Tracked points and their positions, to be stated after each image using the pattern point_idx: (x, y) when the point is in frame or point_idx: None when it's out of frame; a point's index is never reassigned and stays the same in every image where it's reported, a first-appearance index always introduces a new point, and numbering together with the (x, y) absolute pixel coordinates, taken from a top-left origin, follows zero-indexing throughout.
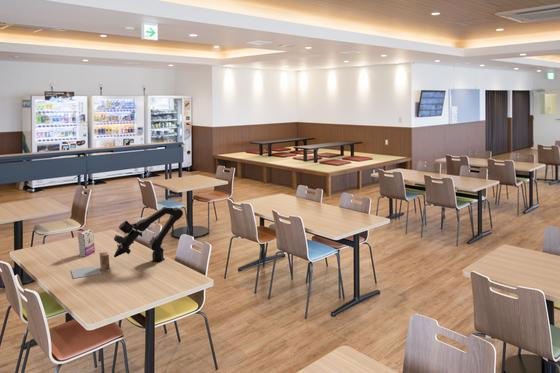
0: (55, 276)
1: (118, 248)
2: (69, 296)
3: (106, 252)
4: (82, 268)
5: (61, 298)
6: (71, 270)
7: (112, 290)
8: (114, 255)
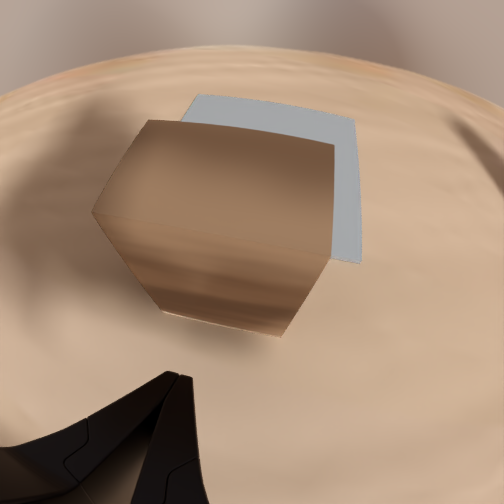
0: (296, 71)
1: (18, 476)
2: (44, 88)
3: (302, 237)
4: (348, 160)
5: (56, 75)
6: (341, 117)
7: None
8: (158, 379)
